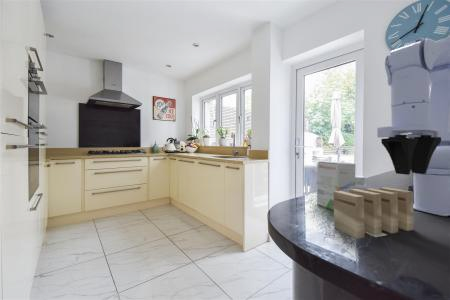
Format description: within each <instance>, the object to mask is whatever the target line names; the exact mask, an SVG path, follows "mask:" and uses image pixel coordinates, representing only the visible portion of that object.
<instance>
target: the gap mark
mask: <svg viewBox="0 0 450 300" xmlns="http://www.w3.org/2000/svg"><path fill="white" fill-rule="evenodd" d="M365 234H367V235H369V236H371V237H374V238H378V237H379V238H380V237H385V236H387V233H384V232H382V234H379V235H373V234H371V233H368V232H366V231H365Z"/></svg>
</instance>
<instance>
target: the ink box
mask: <svg viewBox="0 0 450 300" xmlns="http://www.w3.org/2000/svg"><path fill="white" fill-rule="evenodd" d="M316 163H317V166H316V167H317V171H316V173H317V174H316V184H317V185H316V204H317V205H319V206H321V207H324V208H326V209H329V210H331V211H333V212H334V191H343V192H348V193H350V191H349V189H355V176H356V163H354V162H353V163H352V162H351V163H350V162H341V161H340V162H339V161H317V162H316Z"/></svg>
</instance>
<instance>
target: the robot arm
mask: <svg viewBox="0 0 450 300" xmlns="http://www.w3.org/2000/svg"><path fill="white" fill-rule="evenodd" d="M384 60H385V61H384V69H385V72H386V75H387V84H388V86H389V87H390V110H391V114H390V115H391V126H380V127H377V128H376V129H377V132H376V134H377V135H376V136H377V138H381V140H380V141H381V142H380V143H381V145H382V146H383V147H384V148H385V150H386V151H387V153H388V155H389V158H390V160H391V161H392V165H393V168H394V172H395V174H396V175H397V174H398V175H405V176H407V175H408V176H409V175H410V174H411V173H412V174H413V176H412V177H413V179H412V180H413V210H415V211H420V212H424V213H429V214H433V215H436V216H441V217H448V216H450V37H445V38H441V39H438V40H432V39H429V38H428V37H426V38H424V37H420V38H417V39H415V40H414V39H413V40H412V41H410V42H407V43H405V46H402V47H399V48H396V49H393V50H391V51H390V53H389V54H387V55H386V56H385V59H384ZM410 133H411V134H410Z"/></svg>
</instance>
